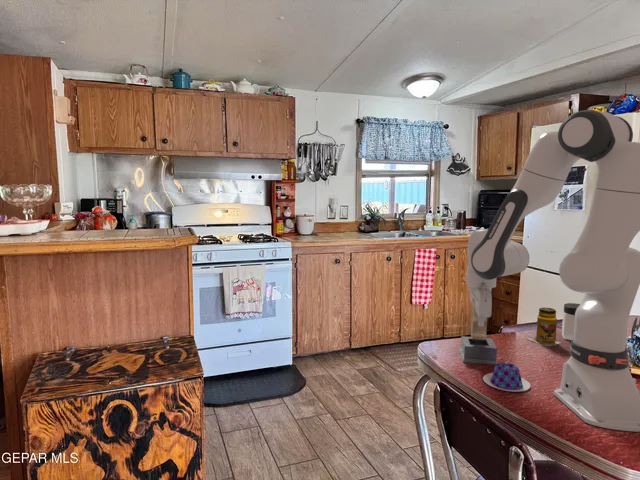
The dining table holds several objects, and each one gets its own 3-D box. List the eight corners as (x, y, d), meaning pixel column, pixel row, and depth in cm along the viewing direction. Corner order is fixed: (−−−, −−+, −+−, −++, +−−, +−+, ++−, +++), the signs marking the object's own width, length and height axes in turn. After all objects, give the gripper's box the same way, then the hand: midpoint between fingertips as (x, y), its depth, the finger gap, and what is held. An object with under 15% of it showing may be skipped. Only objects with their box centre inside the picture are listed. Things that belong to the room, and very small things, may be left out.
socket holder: (497, 364, 131) (498, 348, 130) (463, 362, 133) (463, 346, 133) (491, 353, 141) (492, 338, 140) (459, 350, 143) (460, 335, 142)
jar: (571, 342, 151) (573, 309, 149) (555, 335, 159) (557, 303, 157) (594, 341, 152) (597, 308, 151) (577, 334, 160) (580, 302, 159)
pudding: (530, 398, 110) (531, 378, 110) (481, 388, 116) (481, 370, 115) (530, 379, 121) (531, 362, 121) (484, 372, 126) (485, 355, 126)
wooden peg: (486, 340, 134) (487, 302, 133) (472, 339, 135) (474, 301, 133) (483, 335, 138) (485, 299, 136) (470, 335, 139) (472, 298, 137)
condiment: (548, 347, 147) (550, 312, 145) (526, 339, 154) (528, 306, 153) (561, 343, 150) (563, 310, 149) (539, 336, 157) (541, 304, 156)
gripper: (498, 287, 123) (495, 334, 125) (486, 274, 143) (484, 315, 145) (475, 286, 125) (473, 332, 126) (466, 273, 145) (465, 313, 146)
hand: (479, 323), depth 136 cm, fingers closed on wooden peg, 4 cm apart
